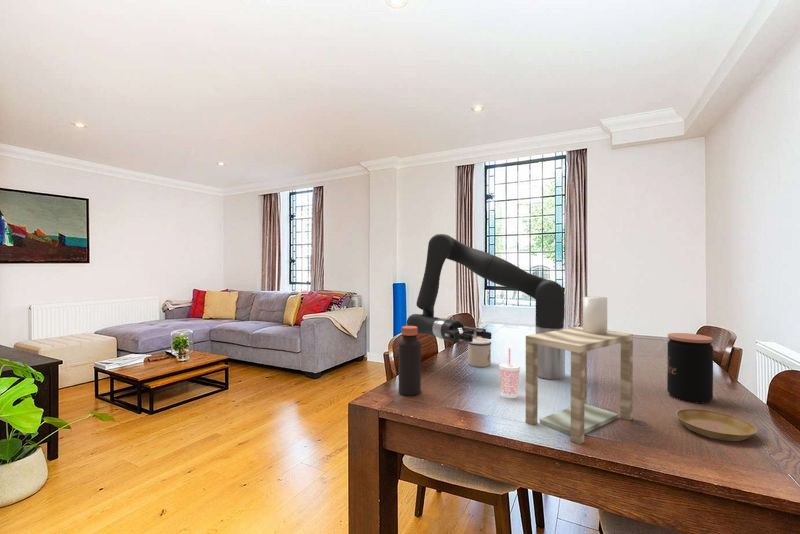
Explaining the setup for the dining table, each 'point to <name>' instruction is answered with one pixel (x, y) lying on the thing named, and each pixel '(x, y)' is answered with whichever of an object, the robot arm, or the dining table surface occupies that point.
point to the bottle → (409, 362)
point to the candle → (595, 315)
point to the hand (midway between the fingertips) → (481, 337)
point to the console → (578, 380)
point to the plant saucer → (735, 426)
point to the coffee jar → (690, 367)
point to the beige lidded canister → (479, 352)
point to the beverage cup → (509, 379)
